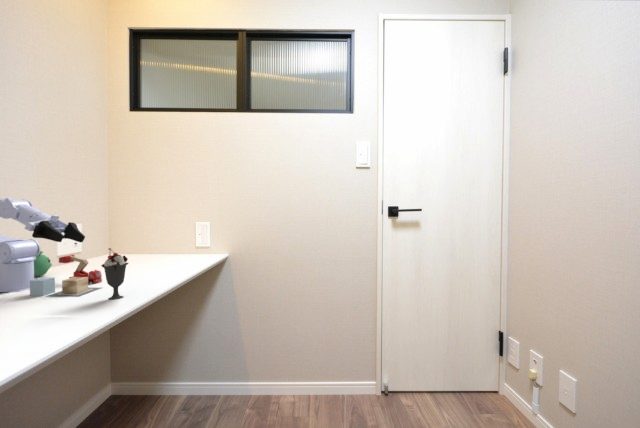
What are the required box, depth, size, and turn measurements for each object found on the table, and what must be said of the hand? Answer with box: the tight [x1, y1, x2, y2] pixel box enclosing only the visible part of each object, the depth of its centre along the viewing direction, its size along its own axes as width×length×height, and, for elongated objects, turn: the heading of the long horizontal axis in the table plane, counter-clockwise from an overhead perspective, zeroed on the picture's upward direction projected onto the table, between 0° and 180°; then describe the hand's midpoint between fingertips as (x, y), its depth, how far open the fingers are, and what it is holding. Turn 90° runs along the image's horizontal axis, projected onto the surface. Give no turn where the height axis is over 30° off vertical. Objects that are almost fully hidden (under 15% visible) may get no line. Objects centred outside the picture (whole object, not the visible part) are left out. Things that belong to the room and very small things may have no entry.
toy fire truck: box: [58, 254, 103, 285], centre depth 110 cm, size 3×14×10 cm, turn 84°
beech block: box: [61, 276, 89, 294], centre depth 98 cm, size 4×4×4 cm
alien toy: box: [34, 250, 53, 278], centre depth 121 cm, size 7×8×10 cm
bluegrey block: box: [29, 276, 56, 297], centre depth 96 cm, size 4×4×5 cm
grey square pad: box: [44, 287, 102, 298], centre depth 98 cm, size 10×10×1 cm
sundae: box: [100, 247, 129, 301], centre depth 92 cm, size 7×7×15 cm
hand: (72, 239), depth 99 cm, fingers open, 7 cm apart
